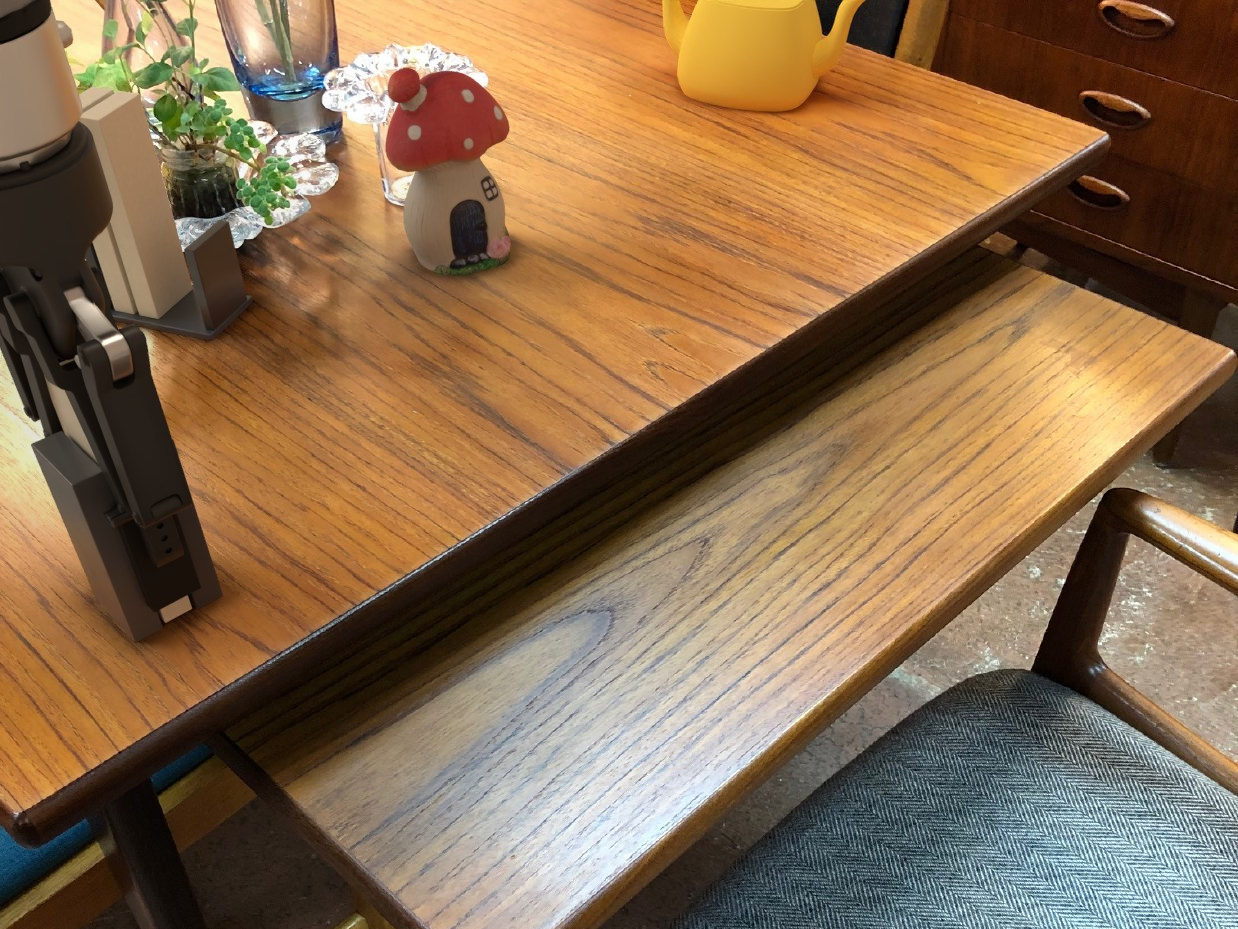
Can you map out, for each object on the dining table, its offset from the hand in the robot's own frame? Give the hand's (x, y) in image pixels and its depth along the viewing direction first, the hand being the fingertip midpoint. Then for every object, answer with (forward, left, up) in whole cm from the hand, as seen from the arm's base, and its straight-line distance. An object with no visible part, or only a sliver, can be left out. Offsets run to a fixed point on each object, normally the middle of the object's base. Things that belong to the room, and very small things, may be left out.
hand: (147, 568), depth 63 cm
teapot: (+13, +81, -3) cm, 82 cm away
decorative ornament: (0, +40, -3) cm, 40 cm away
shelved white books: (-17, +26, -2) cm, 31 cm away
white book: (0, 0, -2) cm, 2 cm away
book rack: (-16, +26, -3) cm, 30 cm away
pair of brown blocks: (0, 0, -3) cm, 3 cm away
